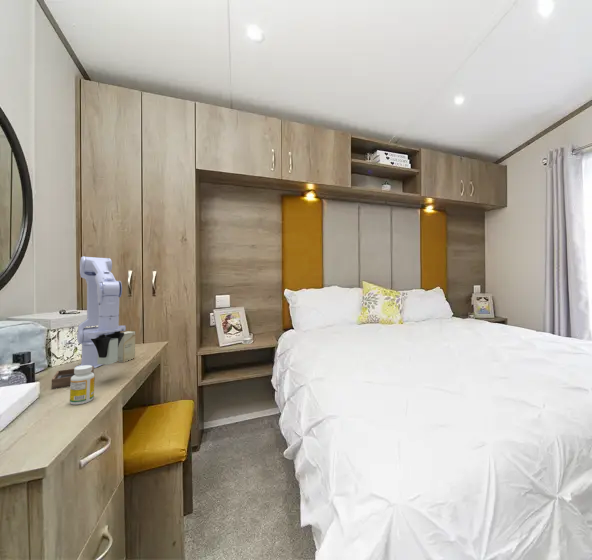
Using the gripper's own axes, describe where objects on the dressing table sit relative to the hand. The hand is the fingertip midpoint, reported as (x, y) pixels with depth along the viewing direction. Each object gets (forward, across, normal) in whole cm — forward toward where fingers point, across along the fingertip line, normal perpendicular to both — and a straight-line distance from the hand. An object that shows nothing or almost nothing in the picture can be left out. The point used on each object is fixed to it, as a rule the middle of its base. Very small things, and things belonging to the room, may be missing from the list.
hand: (107, 355), depth 90 cm
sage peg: (+2, 0, 0) cm, 2 cm away
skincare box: (+9, +24, +11) cm, 28 cm away
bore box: (+9, -1, +11) cm, 14 cm away
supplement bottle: (+9, -15, -4) cm, 18 cm away
